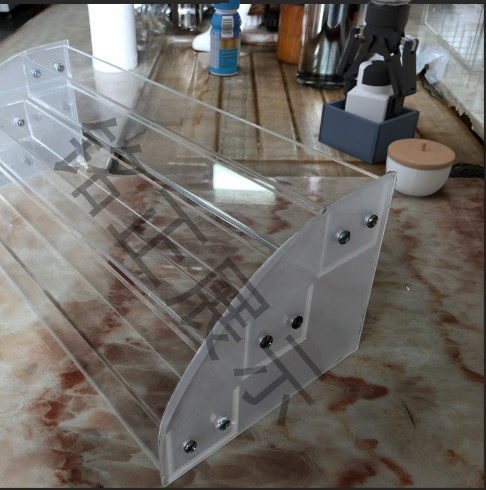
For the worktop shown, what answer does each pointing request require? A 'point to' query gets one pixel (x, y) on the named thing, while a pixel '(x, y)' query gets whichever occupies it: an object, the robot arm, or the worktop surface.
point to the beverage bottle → (225, 39)
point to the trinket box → (419, 165)
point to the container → (371, 91)
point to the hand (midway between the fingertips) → (368, 119)
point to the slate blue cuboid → (364, 131)
